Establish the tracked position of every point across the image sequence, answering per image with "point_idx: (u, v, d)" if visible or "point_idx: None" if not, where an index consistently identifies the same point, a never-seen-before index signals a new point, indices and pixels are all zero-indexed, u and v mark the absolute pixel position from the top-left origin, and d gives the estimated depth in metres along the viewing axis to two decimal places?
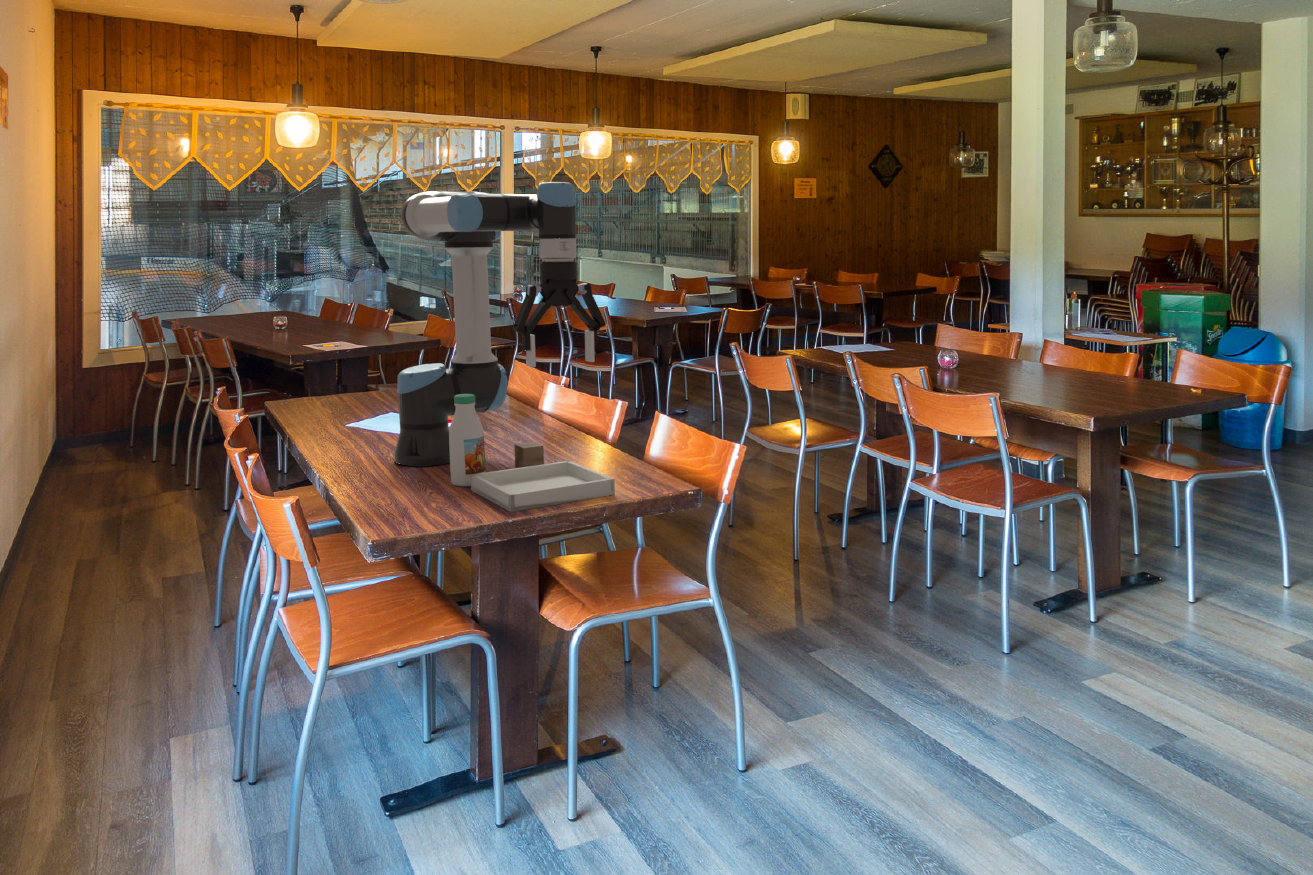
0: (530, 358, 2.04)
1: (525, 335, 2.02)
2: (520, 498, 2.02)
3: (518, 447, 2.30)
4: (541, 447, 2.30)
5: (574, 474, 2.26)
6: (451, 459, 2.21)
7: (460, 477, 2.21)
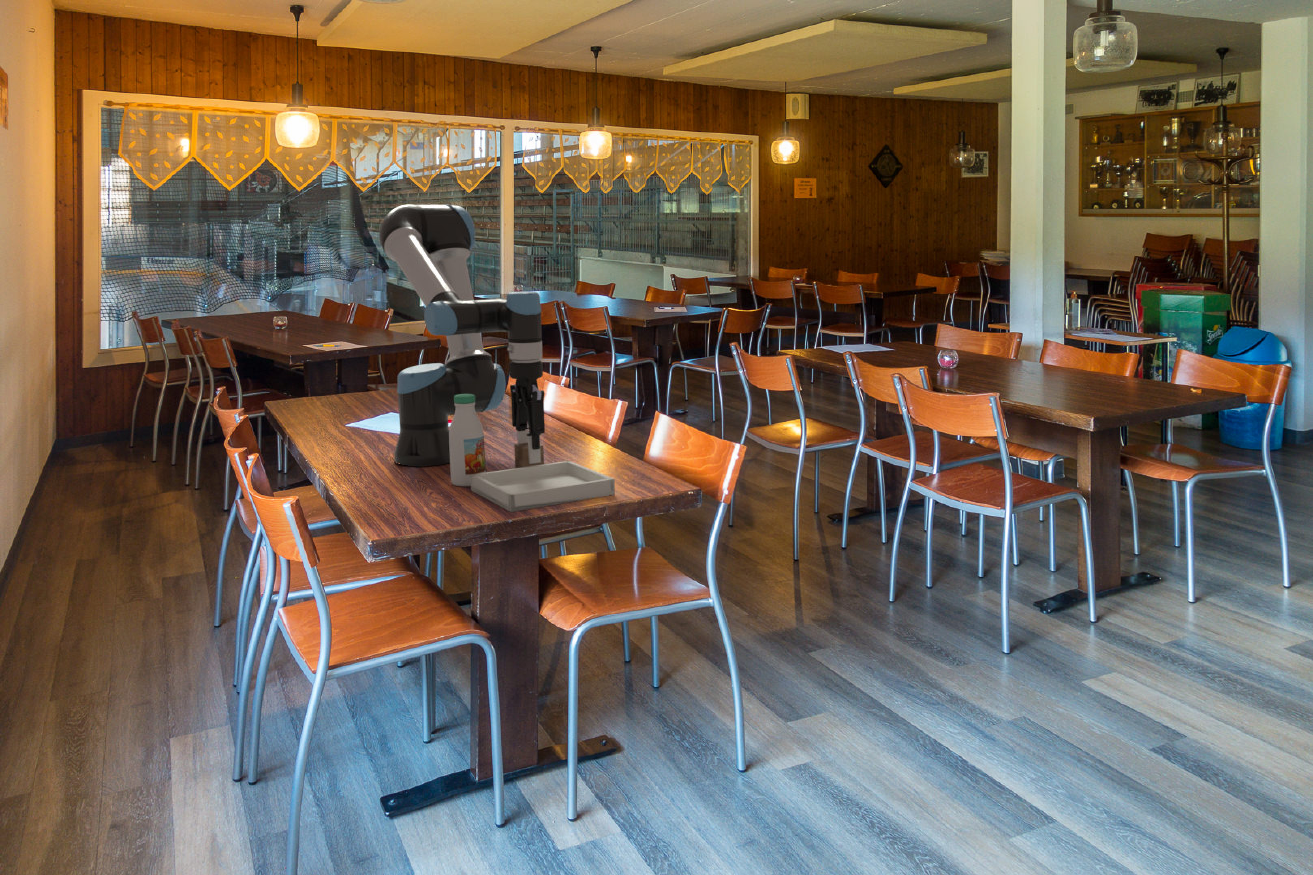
0: None
1: None
2: (520, 498, 2.02)
3: (518, 447, 2.30)
4: (541, 447, 2.30)
5: (574, 474, 2.26)
6: (451, 459, 2.21)
7: (460, 477, 2.21)
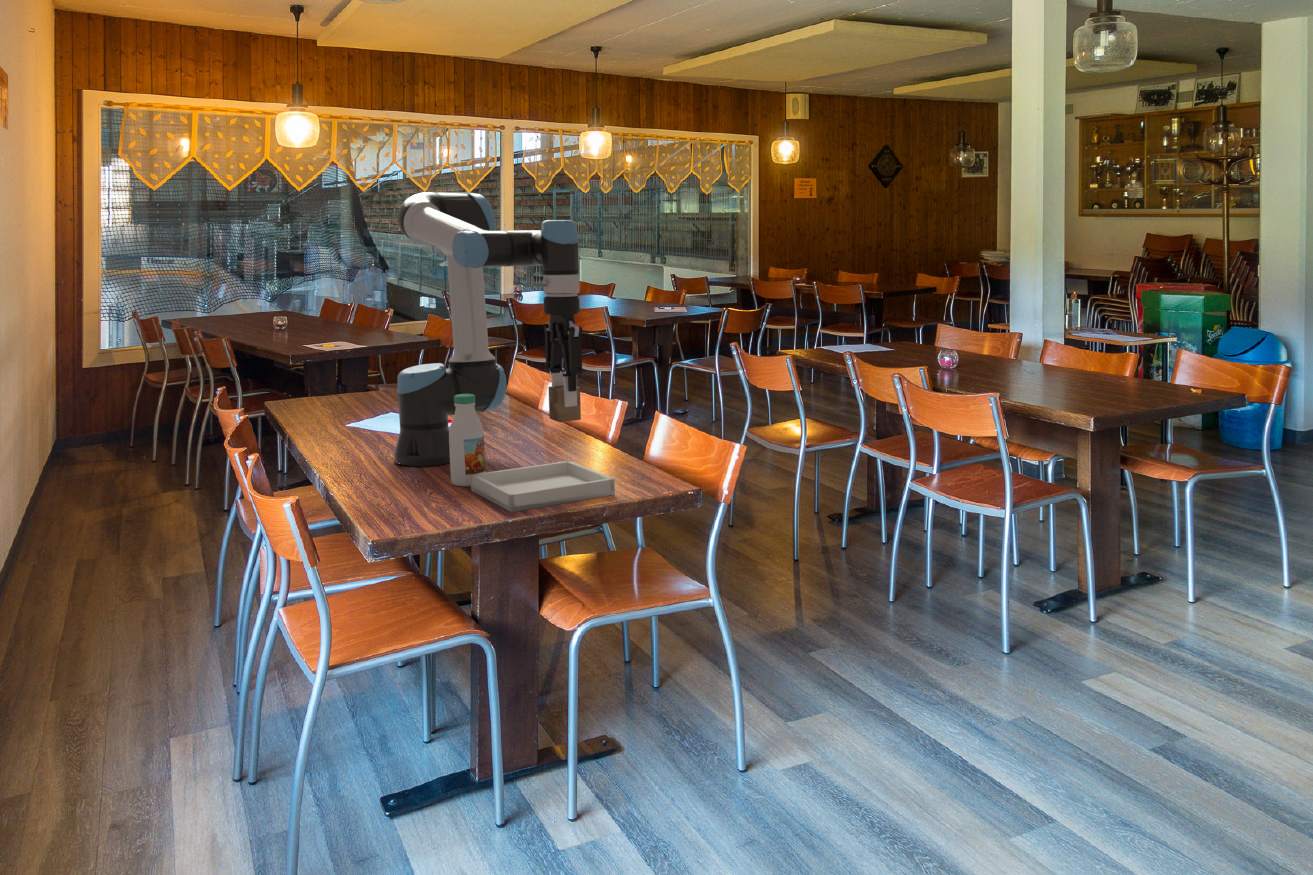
0: None
1: (552, 372, 2.17)
2: (520, 498, 2.02)
3: (553, 389, 2.13)
4: (577, 389, 2.14)
5: (574, 474, 2.26)
6: (451, 459, 2.21)
7: (460, 477, 2.21)
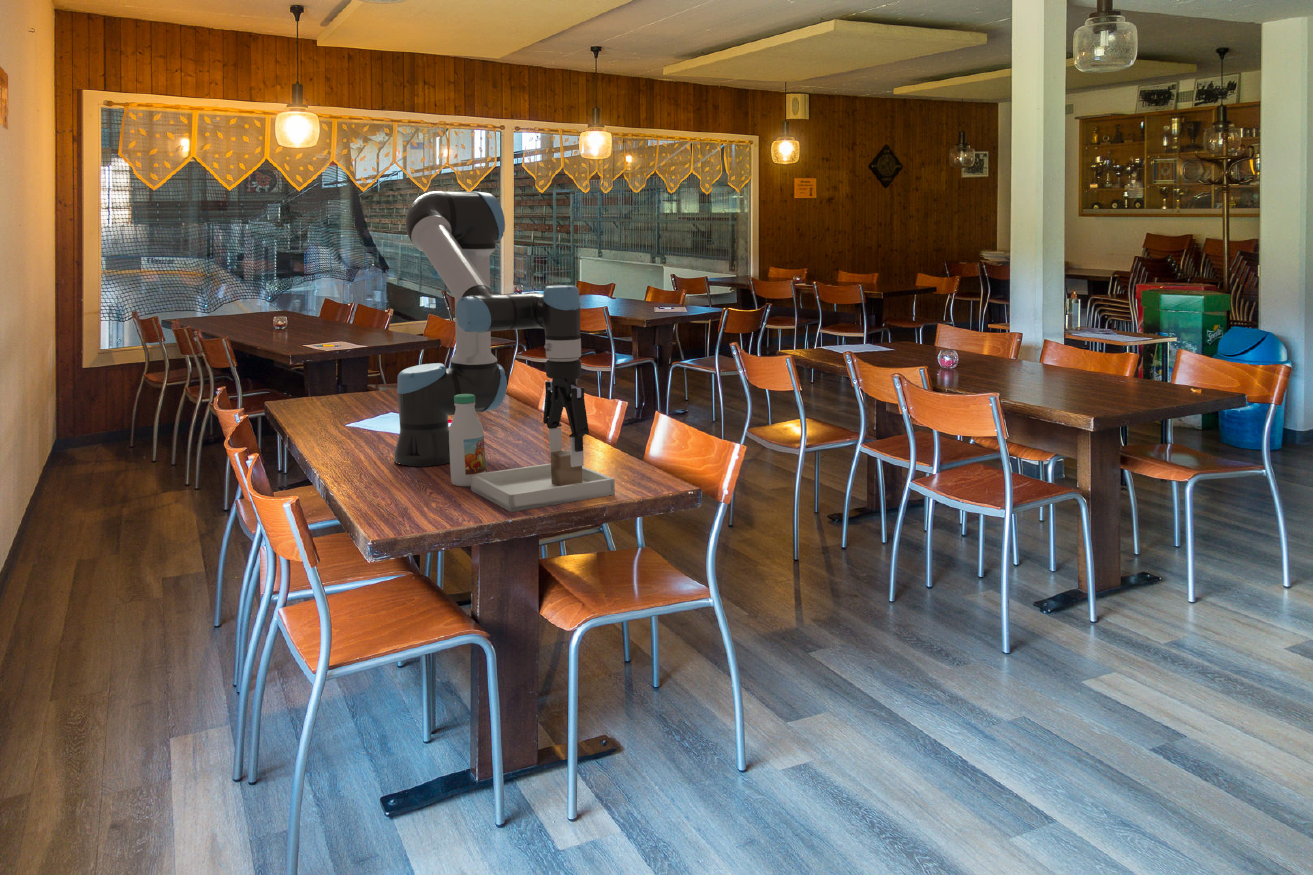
0: None
1: (549, 427, 2.21)
2: (520, 498, 2.02)
3: (555, 455, 2.16)
4: None
5: None
6: (451, 459, 2.21)
7: (460, 477, 2.21)
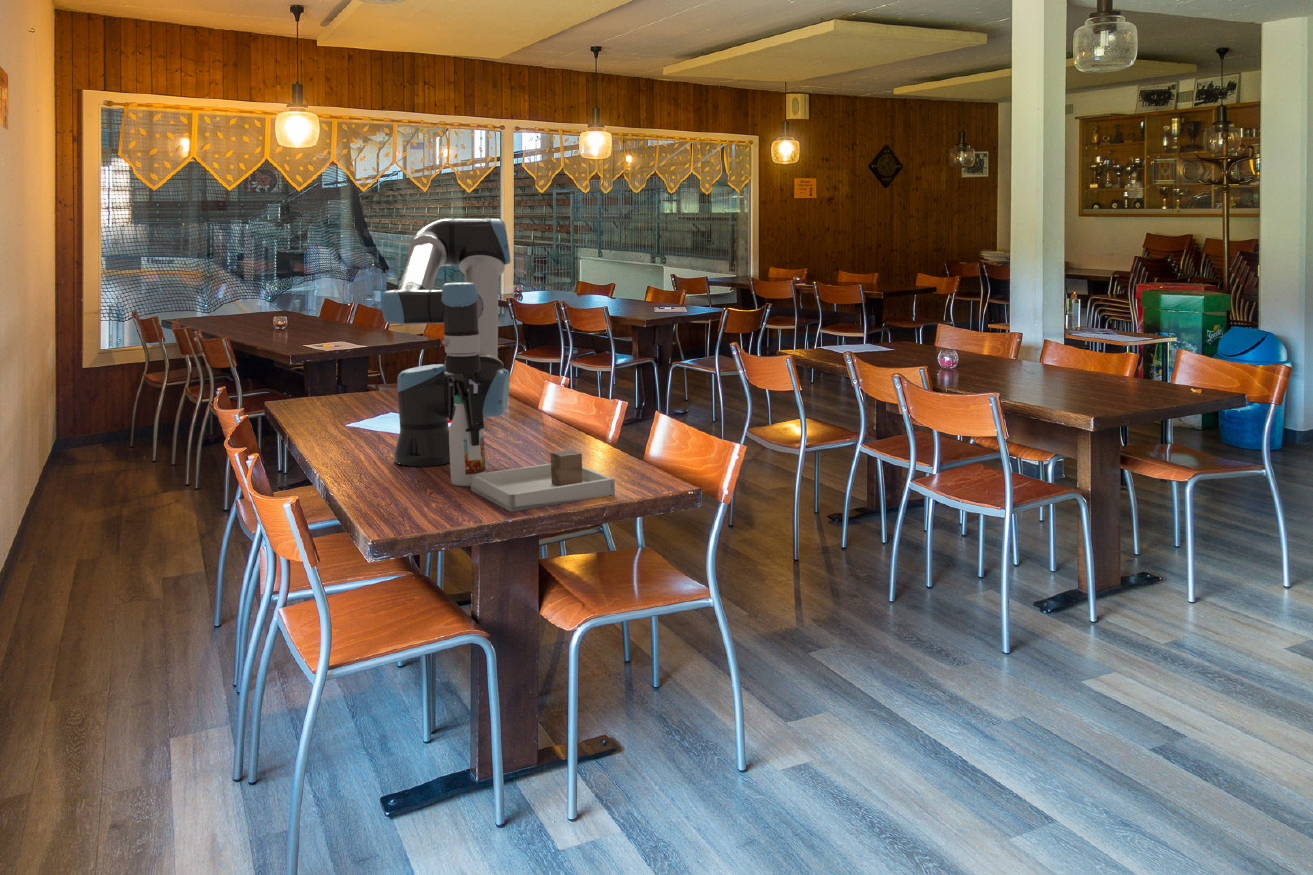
0: None
1: None
2: (520, 498, 2.02)
3: (555, 455, 2.16)
4: (579, 455, 2.16)
5: None
6: (451, 459, 2.21)
7: (460, 477, 2.21)
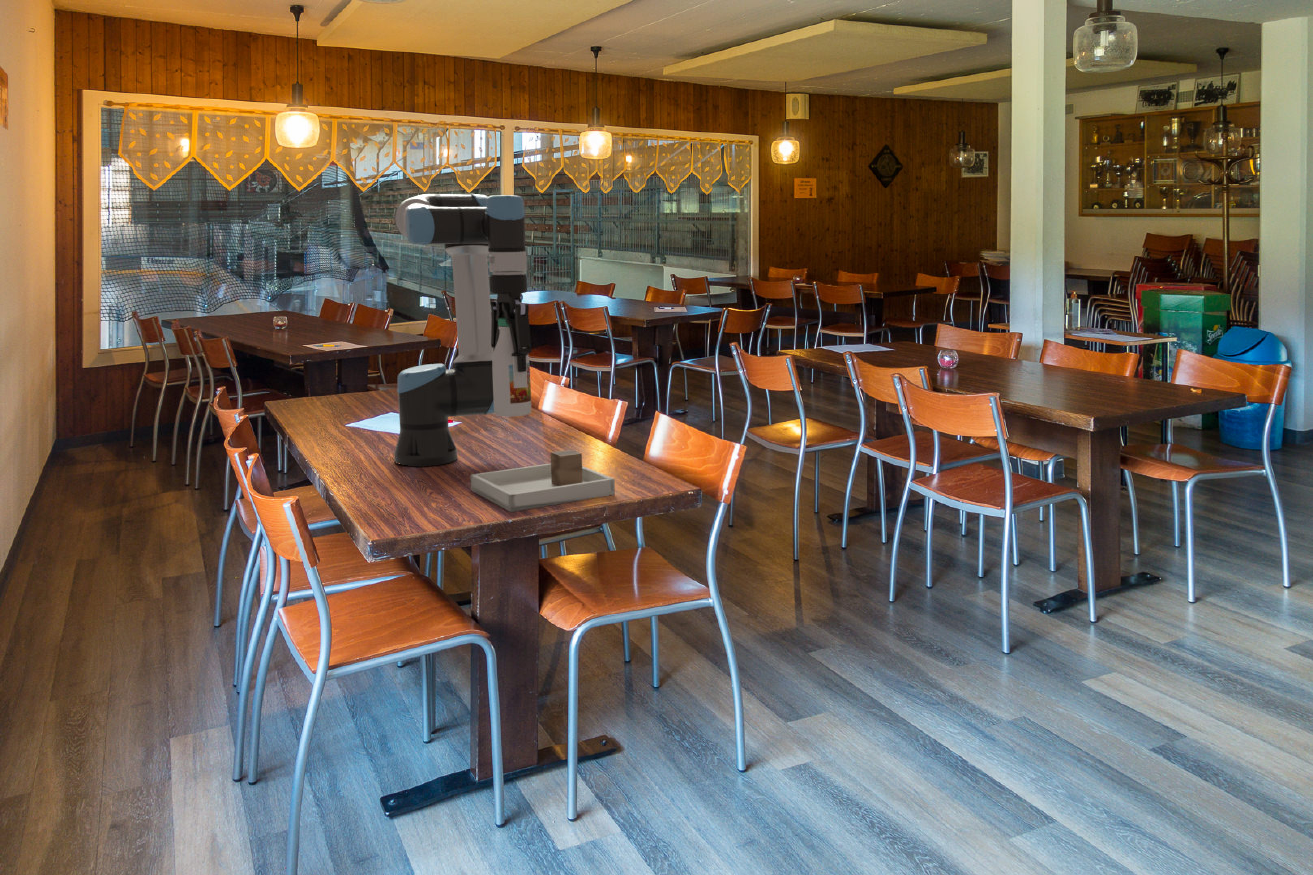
0: None
1: None
2: (520, 498, 2.02)
3: (555, 455, 2.16)
4: (579, 455, 2.16)
5: None
6: (495, 387, 2.06)
7: (504, 406, 2.05)
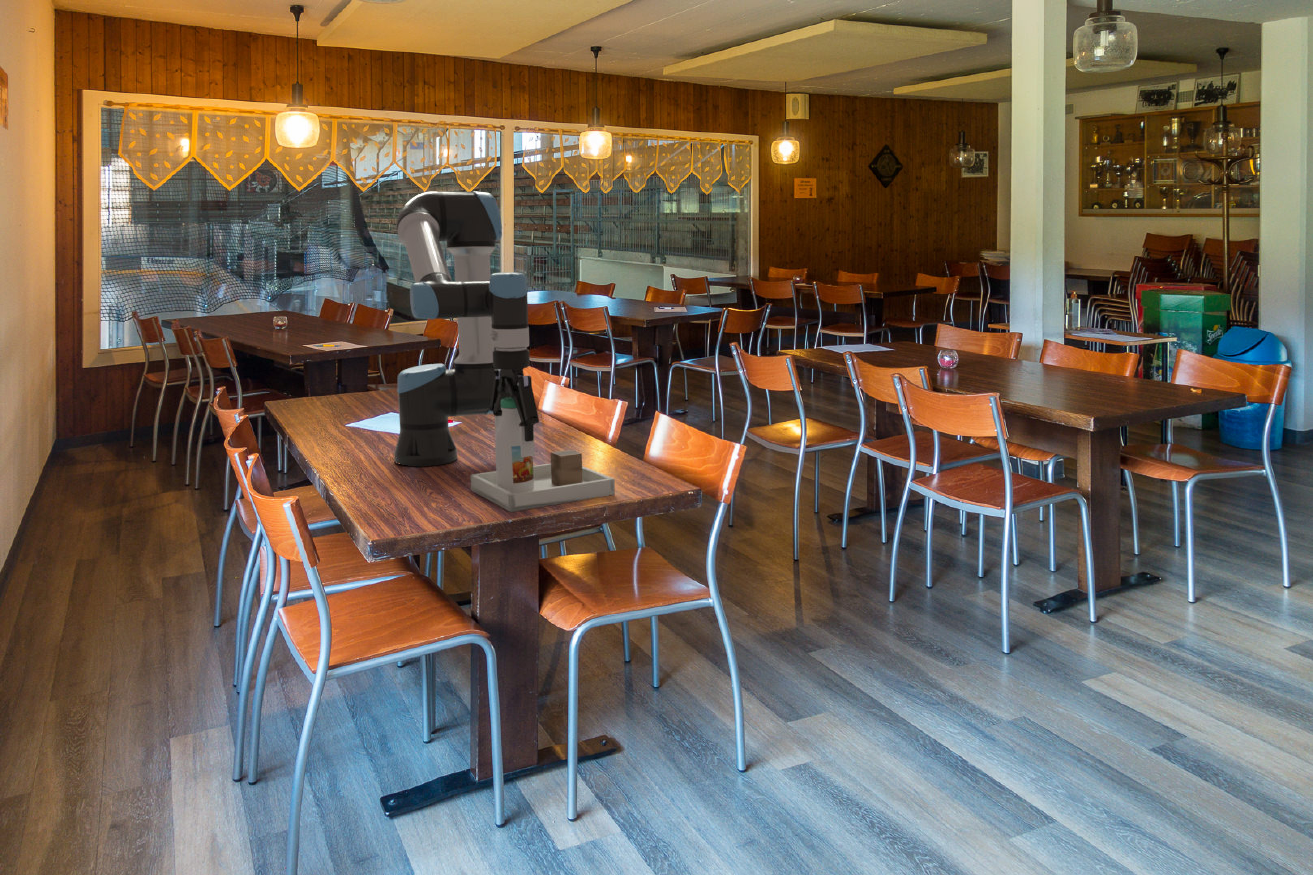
0: None
1: (495, 415, 2.16)
2: (520, 498, 2.02)
3: (555, 455, 2.16)
4: (579, 455, 2.16)
5: None
6: (498, 467, 2.09)
7: (507, 486, 2.08)
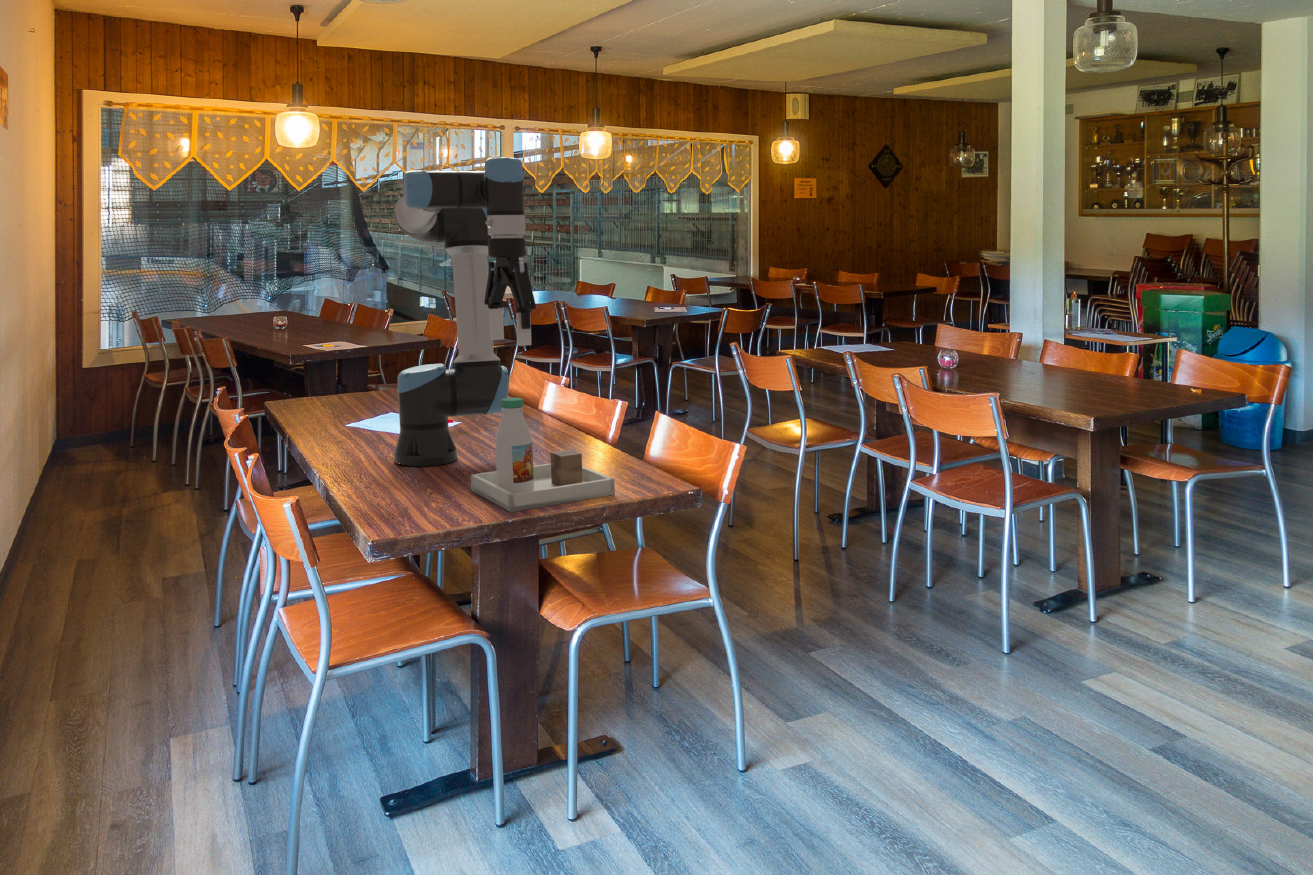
0: None
1: (490, 308, 2.11)
2: (520, 498, 2.02)
3: (555, 455, 2.16)
4: (579, 455, 2.16)
5: None
6: (498, 467, 2.09)
7: (508, 486, 2.09)
